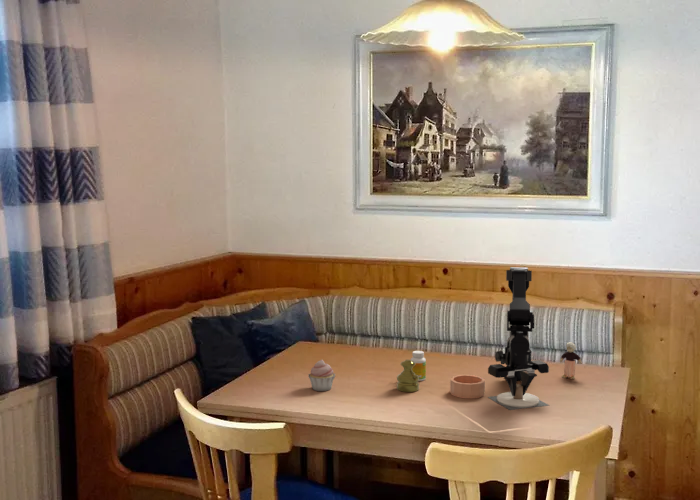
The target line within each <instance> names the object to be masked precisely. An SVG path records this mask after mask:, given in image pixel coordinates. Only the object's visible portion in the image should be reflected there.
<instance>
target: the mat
mask: <svg viewBox="0 0 700 500" xmlns="http://www.w3.org/2000/svg"><path fill="white" fill-rule="evenodd" d="M497 396H498V395H492V396H487V398H488V399H489V400H491V401H493V402H494V403H496V404H498V405H500V406H501V407H503V408H505V409H506V410H508V411H514V410H522V409H530V408H531V409H533V408H540V407H548V406H549V407H550V404H548V403H546V402H544V401H542V400H541V399H539V404H538V405H536V406H533V407H510V406H506V405H503V404H500V403H499V402H498V401H497Z"/></svg>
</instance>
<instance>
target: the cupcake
mask: <svg viewBox="0 0 700 500" xmlns="http://www.w3.org/2000/svg"><path fill="white" fill-rule="evenodd" d="M307 375H308V379H309V381H310V384H311V388H312V390H313V391H317V392H326V391H327V392H328V391H330V390H331V389H332V386H333V381H334V379H335V377H336V373H334V370H333V368H332V367H331V365H330V364H328V363H325V361H324V360H323V359H320V360H318V361H317V362H315V364H314V365H313V366H312V368H311V369H310V373H308V374H307Z"/></svg>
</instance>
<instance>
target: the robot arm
mask: <svg viewBox="0 0 700 500" xmlns="http://www.w3.org/2000/svg"><path fill="white" fill-rule="evenodd" d="M505 271H506V273H505V278H506V279H505V281H506V282H507V287H508V288H509V290H510V291H511V293H512V294H511V295H512V296H511V297H512V300H511V302H510V303H509V310H507V311H506V331H507V332H509V337H508V338H507V340H506V345H505V346H504V352H503V350H500V351H495V352H494V353H495V354H494V358H495V359H494V360H495V362H499V363H498V364H497V363H495V364H489V366H488V368H487V373H488V375H491V376H492V377H494V378H498V379H499V378H504V379H505V380H506V383H507V385H508V388H509V392H511V394H512V396H515V393H516V384H518V383H517V382H520V383H521V384H520V385H523V395H524V394H525V393H527V390H528V388H529V387H530V385H531V383H532V382H533V380H534V379H535V378H536V377H538V374H537V373H535V372H536V371H538V372H539V373H540V374H548V373H549V372H550V371H549V370H550V366H549V364H548V363H547V362H544V361H542V360H540V359H536V360H532V353H533V352H532V349H531V347H530V346H531V345H530V339H529V336H530V335H529V334H530V332H531V333H532V332H533V329H535V314H534V311H531V305H530V303H529V301H527V290H528V289H529V288H530V282H533V281H532V279H533V277H532V276H533V275H532V273H533V272H532V270H529V268H528V267H511V266H510V268H509V269H506V270H505ZM505 365H506V366H505Z"/></svg>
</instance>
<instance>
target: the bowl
mask: <svg viewBox="0 0 700 500" xmlns="http://www.w3.org/2000/svg"><path fill="white" fill-rule="evenodd" d="M449 383H450V384H449V385H450V386H449V392H450V394H451V395H452V396H453V397H456V398H461V399H462V398H463V399H479V398H482V397H484V396H485V395H486V394H485V392H486V379H485V378H483V377H482V376H479V375H473V374H472V375H471V374H458V375H454V376H451V377H450V382H449Z"/></svg>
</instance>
